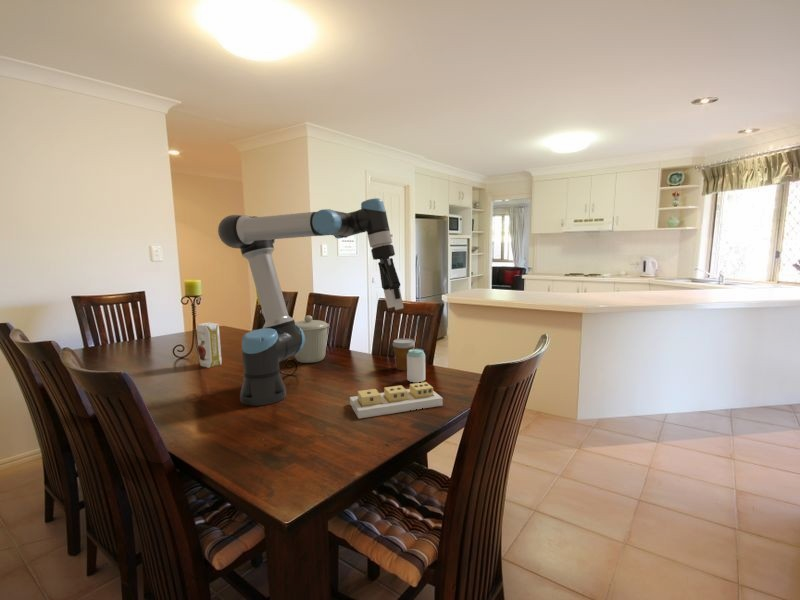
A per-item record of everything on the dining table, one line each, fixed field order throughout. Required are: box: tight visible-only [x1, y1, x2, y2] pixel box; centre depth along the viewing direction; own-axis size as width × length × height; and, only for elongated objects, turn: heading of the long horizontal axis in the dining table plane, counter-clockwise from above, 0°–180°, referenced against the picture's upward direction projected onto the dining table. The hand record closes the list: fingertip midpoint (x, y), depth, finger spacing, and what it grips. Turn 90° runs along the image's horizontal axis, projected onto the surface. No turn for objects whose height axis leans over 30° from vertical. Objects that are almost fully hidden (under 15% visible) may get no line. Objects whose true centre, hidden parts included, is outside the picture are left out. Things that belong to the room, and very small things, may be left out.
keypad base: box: [349, 388, 444, 420], centre depth 132 cm, size 28×12×2 cm, turn 109°
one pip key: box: [357, 388, 381, 407], centre depth 128 cm, size 6×6×4 cm
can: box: [406, 348, 426, 384], centre depth 155 cm, size 7×7×12 cm
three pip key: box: [409, 381, 434, 399], centre depth 134 cm, size 6×6×4 cm
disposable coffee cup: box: [391, 338, 416, 371], centre depth 171 cm, size 10×10×12 cm
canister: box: [294, 314, 330, 364], centre depth 185 cm, size 18×18×21 cm
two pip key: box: [383, 385, 408, 403], centre depth 131 cm, size 6×6×4 cm
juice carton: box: [196, 321, 222, 369], centre depth 179 cm, size 8×9×19 cm
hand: (395, 308), depth 135 cm, fingers open, 13 cm apart
